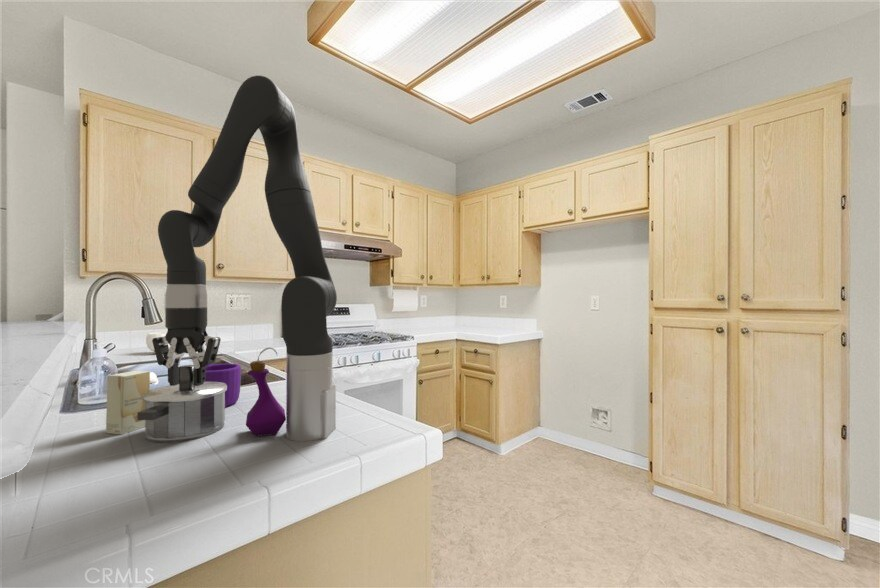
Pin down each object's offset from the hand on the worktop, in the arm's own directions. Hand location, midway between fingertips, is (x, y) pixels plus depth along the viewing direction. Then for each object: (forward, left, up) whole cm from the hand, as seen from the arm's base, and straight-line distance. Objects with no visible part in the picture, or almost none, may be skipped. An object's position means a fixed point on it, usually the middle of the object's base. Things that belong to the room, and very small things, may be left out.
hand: (186, 384), depth 81 cm
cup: (+92, -106, -10) cm, 141 cm away
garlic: (+44, -41, -10) cm, 61 cm away
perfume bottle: (-17, 0, -10) cm, 20 cm away
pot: (0, 0, -10) cm, 10 cm away
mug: (+8, -21, -10) cm, 25 cm away
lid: (0, 0, -3) cm, 3 cm away
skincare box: (+13, 0, -10) cm, 16 cm away
